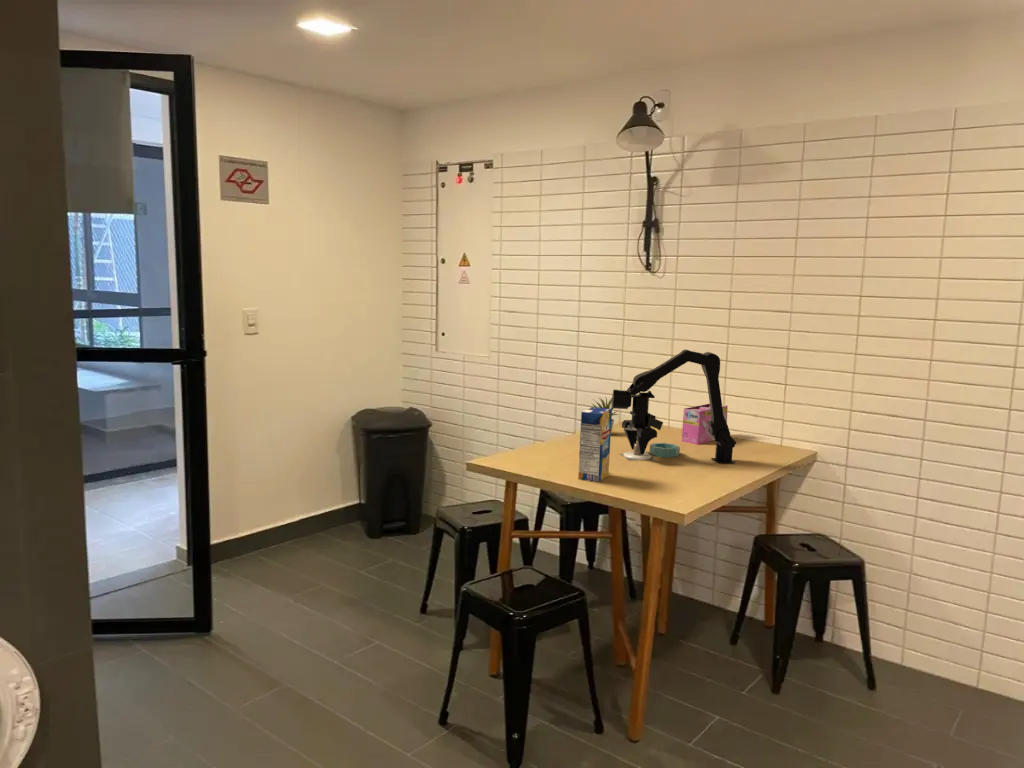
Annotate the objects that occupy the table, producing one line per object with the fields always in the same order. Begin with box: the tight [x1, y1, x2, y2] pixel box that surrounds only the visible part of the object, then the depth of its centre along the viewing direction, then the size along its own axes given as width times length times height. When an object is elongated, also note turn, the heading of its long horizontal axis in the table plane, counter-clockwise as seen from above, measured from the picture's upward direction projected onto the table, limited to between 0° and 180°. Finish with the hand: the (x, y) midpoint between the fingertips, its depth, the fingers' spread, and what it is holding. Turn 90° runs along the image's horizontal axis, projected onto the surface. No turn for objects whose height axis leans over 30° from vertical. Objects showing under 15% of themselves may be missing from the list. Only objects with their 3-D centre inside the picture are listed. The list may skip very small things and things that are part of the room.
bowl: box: [649, 442, 681, 458], centre depth 281 cm, size 10×10×4 cm
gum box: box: [681, 403, 728, 445], centre depth 313 cm, size 24×8×14 cm, turn 135°
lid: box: [622, 442, 652, 461], centre depth 276 cm, size 10×10×5 cm
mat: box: [619, 453, 656, 462], centre depth 276 cm, size 10×10×1 cm
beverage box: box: [577, 406, 613, 483], centre depth 246 cm, size 7×11×22 cm, turn 156°
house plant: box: [591, 396, 621, 433], centre depth 315 cm, size 14×14×16 cm
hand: (637, 452), depth 276 cm, fingers open, 8 cm apart
